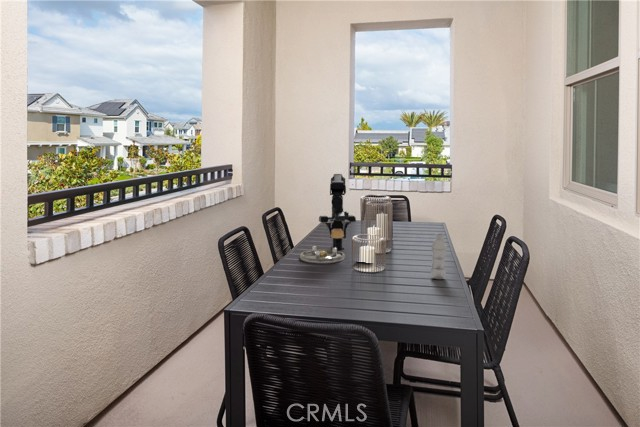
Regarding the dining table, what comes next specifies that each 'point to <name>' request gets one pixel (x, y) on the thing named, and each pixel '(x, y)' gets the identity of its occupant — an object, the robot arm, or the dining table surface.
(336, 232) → the planet gear
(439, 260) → the plastic bottle
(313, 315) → the dining table surface
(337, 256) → the carrier
